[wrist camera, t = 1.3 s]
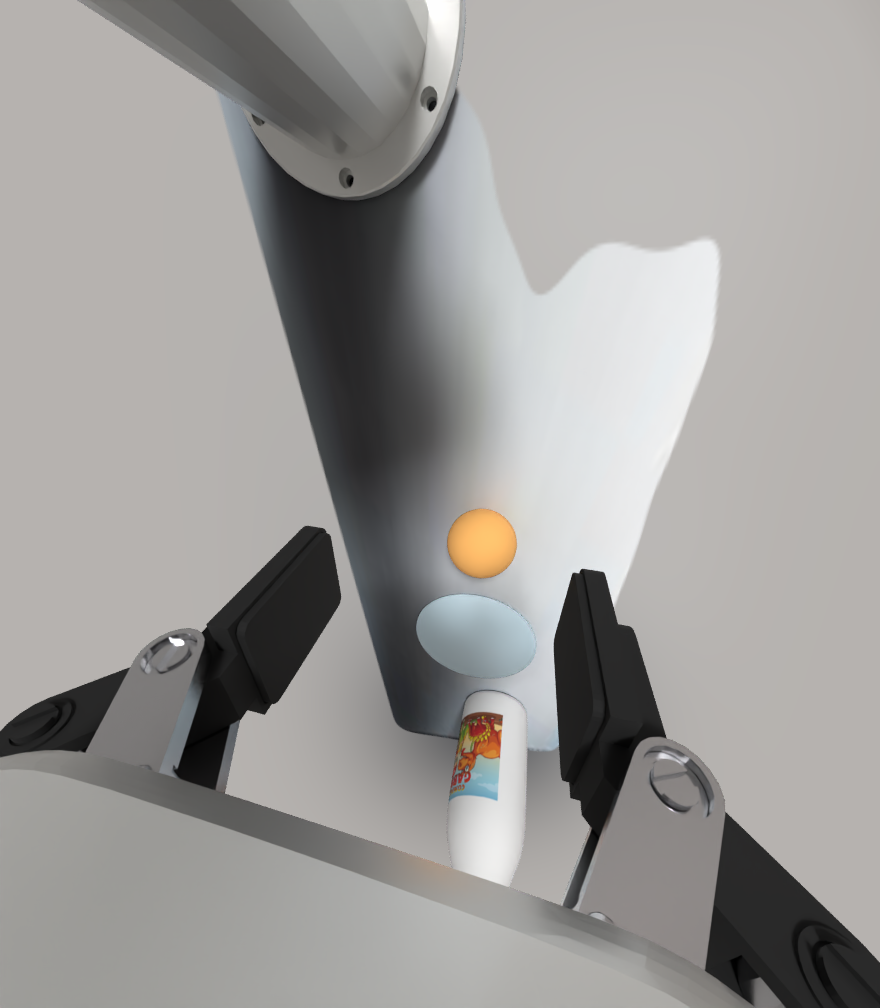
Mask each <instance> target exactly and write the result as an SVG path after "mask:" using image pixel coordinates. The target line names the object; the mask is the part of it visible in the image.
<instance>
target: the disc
mask: <svg viewBox="0 0 880 1008" xmlns="http://www.w3.org/2000/svg"><path fill="white" fill-rule="evenodd" d="M416 631H417V636H418V639H419V641H420V643H421V645H422V647H423V648H424V649H425V651H426V652H427V653H428V654H429V655H430V656H431V657H432V658H433V659H435V660H436V661H437V662H438V663H440V664H441V665H443V666H445V667H447V668H449V669H451V670H453V671H455V672H458V673H460V674H463V675H467V676H471V677H477V678H501V677H507V676H510V675H513V674H516V673H518V672H520V671H521V670H523V669H524V668H526V667H527V666H528V665H529V664H530V662H531V661H532V659H533V658H534V655H535V652H536V639H535V635H534V633H533V630H532V628H531V627H530V625H529V624H528V622H527V621H526V620H525V619H524V618H523V617H522V616H521V615H520V614H519V613H518V612H516V611H515V610H513V609H512V608H511V607H509V606H507V605H505V604H503V603H501V602H499V601H497V600H494V599H491V598H488V597H484V596H479V595H472V594H454V595H448V596H444V597H441V598H438V599H436V600H434V601H432V602H431V603H429V604H428V605H427V606H426V607H424V609H423V610H422V611H421V613H420V615H419V617H418V620H417V623H416Z"/></svg>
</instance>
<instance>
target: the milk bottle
mask: <svg viewBox="0 0 880 1008" xmlns="http://www.w3.org/2000/svg"><path fill="white" fill-rule="evenodd" d="M526 783H527V713H526V711H525V708H524V707H523V705H522V704H521V703H520V702H519V701H518V700H516V699H515V698H513V697H511V696H510V695H507V694H504V693H501V692H497V691H486V690H485V691H479V692H475V693H473V694H471V695H470V696H469V697H468V699H467V700H466V702H465V706H464V710H463V716H462V722H461V728H460V734H459V740H458V746H457V752H456V758H455V764H454V770H453V776H452V782H451V789H450V796H449V803H448V811H447V841H448V848H449V854H450V860H451V867H452V868H453V869H456V870H459V871H462V872H465V873H468V874H471V875H474V876H477V877H480V878H483V879H486V880H489V881H492V882H495V883H498V884H501V885H504V886H507V887H510V884H511V881H512V878H513V876H514V874H515V871H516V869H517V866H518V863H519V860H520V857H521V853H522V849H523V843H524V835H525V817H526V785H527V784H526Z"/></svg>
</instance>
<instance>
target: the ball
mask: <svg viewBox="0 0 880 1008" xmlns="http://www.w3.org/2000/svg"><path fill="white" fill-rule="evenodd" d="M447 547H448V552H449V555H450V558H451V560H452V561H453V563H454V564H455V565H456V567H457V568H458V569H459V570H461V571H462V572H463V573H465V574H467V575H469V576H472V577H476V578H489V577H493V576H496V575H498V574H500V573H501V572H503V571H504V570H505V569H506V568H507V567H508V566H509V565H510V564H511V562H512V561H513V558H514V556H515V553H516V548H517V541H516V535H515V532H514V529H513V527H512V526H511V524H510V523H509V521H508V520H507V519H506V518H505V517H503V516H502V515H501V514H499V513H497V512H495V511H492V510H488V509H475V510H471V511H468V512H466V513H464V514H463V515H461V516H460V517H459V518H458V519H457V520H456V521H455V522H454V523H453V525H452V527H451V529H450V531H449V534H448V540H447Z"/></svg>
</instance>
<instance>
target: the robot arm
mask: <svg viewBox="0 0 880 1008" xmlns="http://www.w3.org/2000/svg"><path fill="white" fill-rule="evenodd" d="M78 1H79V2H81V3H83V4H84V5H85V6H87V7H88V8H90V9H92V10H93V11H95V12H96V13H98V14H99V15H101V16H102V17H104V18H105V19H107V20H109V21H110V22H112V23H113V24H115V25H116V26H118V27H119V28H121V29H122V30H124V31H125V32H127V33H129V34H130V35H132V36H133V37H135V38H136V39H138V40H139V41H141V42H143V43H144V44H146V45H147V46H149V47H150V48H152V49H154V50H155V51H157V52H158V53H159V54H161V55H163V56H164V57H166V58H167V59H169V60H170V61H172V62H173V63H175V64H176V65H178V66H180V67H181V68H183V69H184V70H186V71H187V72H189V73H190V74H192V75H193V76H195V77H197V78H198V79H200V80H201V81H203V82H204V83H206V84H207V85H209V86H210V87H212V88H213V89H215V90H217V91H218V92H220V93H221V94H223V95H224V96H226V97H227V98H229V99H230V100H232V101H234V102H235V103H237V104H238V105H240V106H241V108H242V110H243V112H244V114H245V116H246V118H247V119H248V121H249V123H250V125H251V127H252V129H253V131H254V133H255V134H256V136H257V137H258V139H259V140H260V141H261V143H262V144H263V146H264V147H265V149H266V150H267V151H268V153H269V154H270V156H271V157H272V158H273V159H274V160H275V161H276V162H277V163H278V164H279V165H280V166H281V167H282V168H283V169H284V170H285V171H286V172H287V173H288V174H289V175H291V176H292V177H293V178H295V179H296V180H298V181H299V182H300V183H302V184H303V185H305V186H306V187H308V188H310V189H312V190H314V191H316V192H318V193H320V194H323V195H326V196H330V197H333V198H336V199H340V200H363V199H367V198H372V197H376V196H379V195H381V194H383V193H385V192H386V191H388V190H390V189H392V188H394V187H396V186H397V185H398V184H399V183H401V182H402V181H403V180H404V179H405V178H406V177H407V176H409V175H410V174H411V173H412V172H413V171H414V170H415V169H416V167H417V166H418V165H419V164H420V162H421V161H422V160H423V158H424V157H425V156H426V155H427V153H428V152H429V151H430V149H431V147H432V145H433V143H434V141H435V139H436V138H437V136H438V134H439V132H440V130H441V128H442V126H443V124H444V122H445V119H446V116H447V113H448V110H449V108H450V105H451V102H452V99H453V97H454V94H455V89H456V84H457V80H458V75H459V71H460V66H461V62H462V55H463V44H464V33H465V23H466V22H465V21H466V9H465V0H78ZM432 101H436V102H437V105H436V107H435V109H434V110H433V111H431V112H429V105H430V103H431V102H432ZM352 177H354V180H353V184H352V186H351V187H350V179H351V178H352ZM340 600H341V593H340V586H339V580H338V575H337V569H336V564H335V558H334V552H333V547H332V541H331V536H330V535H329V534H327V533H326V531H325V529H323V528H318V527H311V526H305V527H303V528H302V529H301V530H300V531H299V532H298V533H297V534H296V535H295V536H294V537H293V538H292V539H291V540H290V541H289V542H288V543H287V544H286V545H285V546H284V547H283V548H282V549H281V550H280V551H279V552H278V553H277V554H276V555H275V556H274V557H273V558H272V559H271V560H270V561H269V562H268V563H267V564H266V565H265V566H264V567H263V568H262V569H261V570H260V571H259V572H258V573H257V574H256V575H255V576H254V577H253V578H252V579H251V580H250V581H249V582H248V583H247V584H246V585H245V586H244V587H243V588H242V589H241V590H240V591H239V592H238V593H237V594H236V595H235V597H233V598H232V599H231V600H230V601H229V603H227V604H226V605H225V606H224V607H223V608H222V609H221V610H220V611H219V612H218V613H217V614H216V615H215V616H214V617H213V618H212V619H211V620H210V621H209V623H207V628H206V629H205V630H204V631H203V632H202V633H201V632H200V631H198V630H195V629H191V628H186V629H178V630H175V631H171V632H168V633H166V634H164V635H162V636H160V637H158V638H156V639H155V640H153V641H152V642H150V643H149V644H148V645H147V646H146V647H145V648H144V649H142V650H141V651H140V653H139V654H138V655H137V657H136V658H135V660H134V661H133V664H132V665H131V667H130V668H127V669H124V670H122V671H119V672H116V673H114V674H111V675H108V676H106V677H103V678H100V679H98V680H95V681H93V682H90V683H87V684H85V685H82V686H79V687H77V688H74V689H72V690H69V691H66V692H64V693H61V694H58V695H56V696H53V697H50V698H48V699H46V700H44V701H41V702H39V703H37V704H35V705H33V706H31V707H30V708H28V709H27V710H25V711H23V712H22V713H20V714H19V715H18V716H16V717H15V718H14V719H13V720H12V721H10V722H9V723H8V724H7V725H6V726H5V727H4V728H3V729H2V730H1V731H0V1008H880V962H879V961H878V960H877V959H876V958H875V957H874V956H873V955H872V954H871V953H870V952H869V951H868V949H867V948H866V947H865V946H864V945H863V944H862V943H861V942H860V941H859V940H858V939H857V938H856V937H855V936H854V935H853V934H852V933H851V932H850V931H848V930H847V929H846V928H845V927H844V926H843V925H842V924H841V923H840V922H839V921H838V920H837V919H836V918H835V917H834V916H833V915H832V914H831V913H830V912H829V911H828V910H827V909H826V908H825V907H824V906H823V905H821V904H820V903H819V902H818V901H817V900H816V899H815V898H814V897H813V896H812V895H811V894H810V893H809V892H808V891H807V890H806V889H805V888H804V887H803V886H802V885H801V884H800V883H799V882H798V881H797V880H796V879H794V877H793V876H791V875H790V874H789V873H788V872H787V871H786V870H785V869H784V868H783V867H782V866H781V865H780V864H779V863H778V862H777V861H776V860H775V859H774V858H773V857H772V856H771V855H769V853H768V852H767V851H766V850H764V849H763V848H762V847H761V846H760V845H759V844H758V843H757V842H756V841H755V840H754V839H753V838H752V837H751V836H750V835H749V834H748V833H747V832H746V831H745V830H744V829H743V828H742V827H741V826H739V824H737V822H735V821H734V820H733V819H732V818H731V817H730V816H729V815H728V814H727V813H726V812H725V800H724V797H723V794H722V791H721V788H720V786H719V783H718V782H717V780H716V779H715V777H714V776H713V774H712V772H711V771H710V769H709V768H708V767H707V766H706V765H705V764H704V763H703V762H702V760H701V759H700V758H699V757H698V756H696V755H695V754H694V753H692V752H691V751H690V750H689V749H687V748H686V747H685V746H683V745H681V744H679V743H677V742H675V741H673V740H670V739H667V738H666V735H665V731H664V728H663V725H662V721H661V718H660V715H659V711H658V708H657V705H656V701H655V698H654V695H653V691H652V688H651V685H650V682H649V678H648V675H647V672H646V668H645V665H644V662H643V658H642V655H641V652H640V648H639V645H638V641H637V638H636V635H635V633H634V630H633V629H632V628H631V627H630V626H624V625H619V624H618V623H617V619H616V615H615V611H614V607H613V603H612V600H611V596H610V592H609V588H608V584H607V580H606V576H605V573H604V572H600V571H594V570H587V569H581V571H580V573H573V574H572V577H571V580H570V584H569V588H568V591H567V595H566V598H565V602H564V605H563V609H562V612H561V616H560V620H559V623H558V627H557V630H556V634H555V638H554V663H555V681H556V699H557V716H558V734H559V751H560V768H561V777H562V780H563V781H566V782H569V785H570V798H573V799H576V800H580V801H581V810H582V816H583V817H584V818H585V820H586V821H587V822H588V824H589V825H590V828H589V831H588V834H587V837H586V839H585V842H584V844H583V847H582V849H581V852H580V855H579V857H578V860H577V862H576V865H575V867H574V870H573V873H572V875H571V878H570V881H569V883H568V886H567V888H566V891H565V893H564V896H563V898H562V901H561V904H560V905H558V904H555V903H552V902H549V901H546V900H544V899H541V898H538V897H535V896H533V895H530V894H527V893H524V892H521V891H518V890H516V889H513V888H510V887H507V886H504V885H501V884H498V883H495V882H492V881H489V880H486V879H483V878H480V877H477V876H474V875H471V874H468V873H465V872H462V871H459V870H456V869H453V868H450V867H447V866H444V865H441V864H438V863H435V862H432V861H429V860H426V859H423V858H420V857H416V856H414V855H411V854H408V853H405V852H402V851H399V850H396V849H393V848H390V847H387V846H384V845H381V844H378V843H374V842H372V841H368V840H365V839H362V838H359V837H356V836H353V835H350V834H347V833H344V832H341V831H338V830H335V829H332V828H329V827H326V826H323V825H320V824H317V823H314V822H310V821H307V820H304V819H301V818H298V817H295V816H292V815H289V814H286V813H283V812H280V811H277V810H273V809H271V808H268V807H264V806H261V805H258V804H255V803H252V802H249V801H246V800H243V799H240V798H236V797H233V796H230V795H227V794H225V789H226V785H227V780H228V775H229V771H230V766H231V761H232V756H233V751H234V747H235V742H236V737H237V732H238V727H239V723H240V720H241V719H242V717H243V716H244V714H245V713H246V711H247V710H249V711H253V712H257V713H260V714H264V715H265V714H266V712H267V710H268V709H269V707H270V706H271V704H275V703H276V702H278V701H279V699H280V698H281V696H282V695H283V693H284V692H285V690H286V689H287V687H288V685H289V684H290V682H291V680H292V679H293V678H294V676H295V674H296V673H297V671H298V670H299V668H300V666H301V665H302V663H303V661H304V660H305V658H306V657H307V655H308V654H309V652H310V651H311V649H312V647H313V646H314V644H315V643H316V641H317V639H318V638H319V636H320V635H321V633H322V631H323V630H324V628H325V627H326V625H327V623H328V622H329V620H330V619H331V617H332V616H333V614H334V612H335V611H336V609H337V608H338V606H339V604H340Z"/></svg>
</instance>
